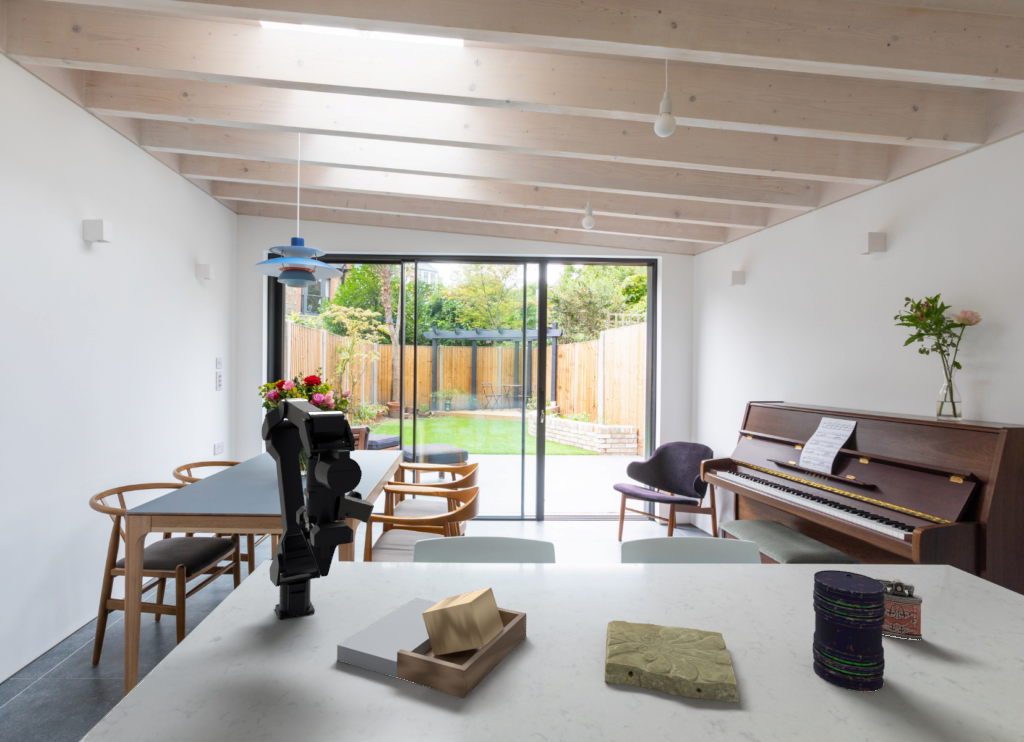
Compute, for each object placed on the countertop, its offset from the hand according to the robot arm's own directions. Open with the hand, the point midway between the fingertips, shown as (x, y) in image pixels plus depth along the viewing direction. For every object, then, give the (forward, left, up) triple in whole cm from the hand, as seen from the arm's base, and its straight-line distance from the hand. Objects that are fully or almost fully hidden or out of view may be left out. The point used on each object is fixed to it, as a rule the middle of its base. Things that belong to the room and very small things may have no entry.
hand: (322, 573), depth 99 cm
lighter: (+46, +93, -12) cm, 104 cm away
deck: (+6, +13, -12) cm, 19 cm away
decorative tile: (+34, +48, -13) cm, 60 cm away
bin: (+16, +20, -12) cm, 28 cm away
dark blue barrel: (+50, +71, -12) cm, 88 cm away
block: (+11, +17, -8) cm, 22 cm away
